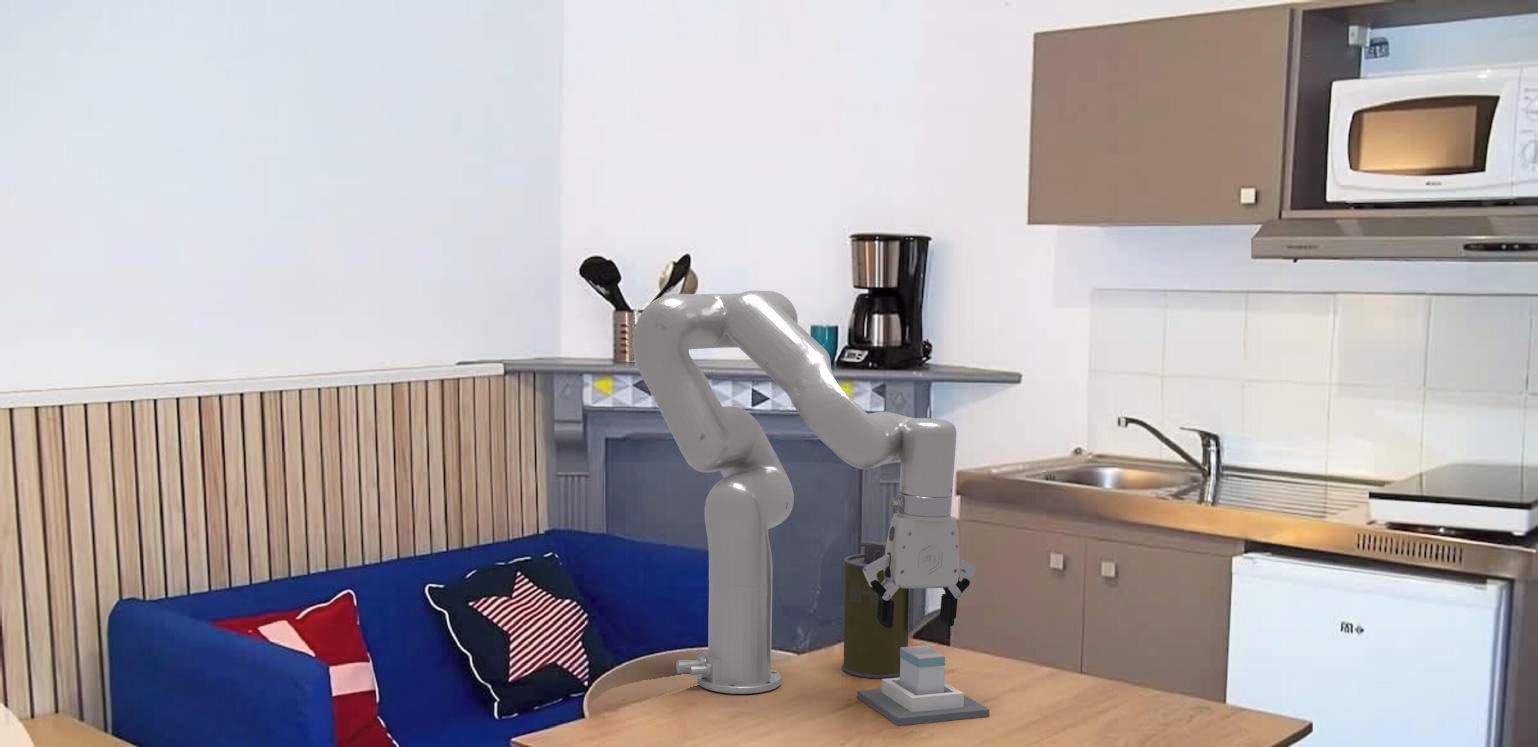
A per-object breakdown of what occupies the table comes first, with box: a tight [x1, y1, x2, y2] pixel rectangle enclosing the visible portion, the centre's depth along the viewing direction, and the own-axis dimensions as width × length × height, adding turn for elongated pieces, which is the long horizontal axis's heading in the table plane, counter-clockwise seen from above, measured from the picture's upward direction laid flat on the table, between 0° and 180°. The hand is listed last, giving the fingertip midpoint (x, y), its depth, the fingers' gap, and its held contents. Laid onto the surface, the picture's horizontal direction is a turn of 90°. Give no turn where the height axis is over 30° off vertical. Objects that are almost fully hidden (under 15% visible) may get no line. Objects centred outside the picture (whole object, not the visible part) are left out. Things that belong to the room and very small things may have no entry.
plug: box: [899, 645, 946, 696], centre depth 202 cm, size 4×6×7 cm
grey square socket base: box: [856, 677, 990, 726], centre depth 202 cm, size 14×14×3 cm
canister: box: [841, 540, 915, 680], centre depth 221 cm, size 11×10×20 cm
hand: (916, 624), depth 202 cm, fingers open, 9 cm apart
